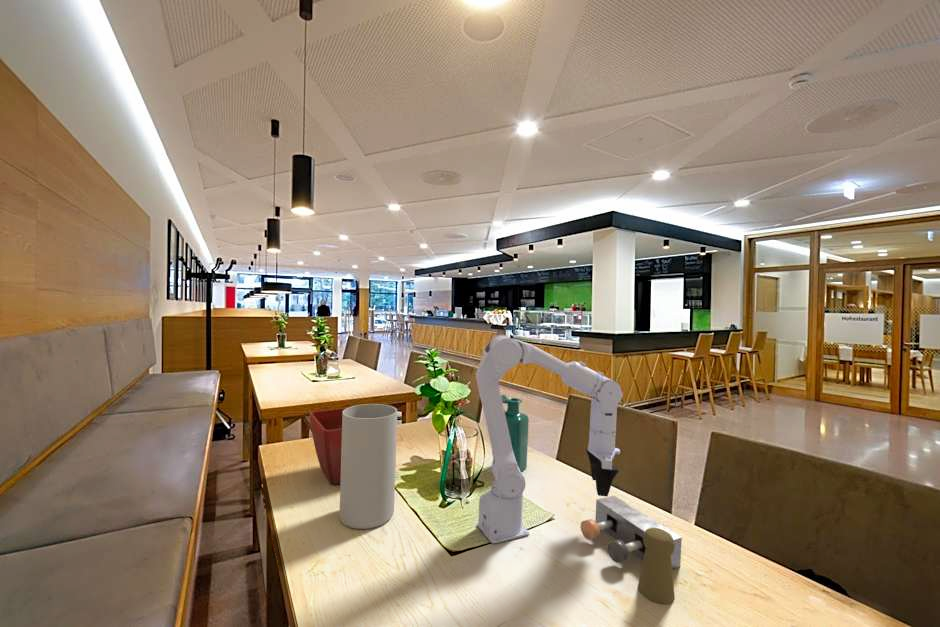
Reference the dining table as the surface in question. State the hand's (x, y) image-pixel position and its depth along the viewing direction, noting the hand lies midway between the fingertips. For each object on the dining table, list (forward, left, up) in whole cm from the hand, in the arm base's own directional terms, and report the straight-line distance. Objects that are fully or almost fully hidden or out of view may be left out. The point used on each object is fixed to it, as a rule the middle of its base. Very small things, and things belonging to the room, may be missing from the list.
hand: (599, 487), depth 90 cm
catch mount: (+3, -7, -10) cm, 13 cm away
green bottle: (-2, +37, -10) cm, 38 cm away
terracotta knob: (-3, -3, -8) cm, 10 cm away
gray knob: (-3, -11, -9) cm, 15 cm away
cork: (-4, -19, -10) cm, 22 cm away
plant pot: (-49, +50, -10) cm, 71 cm away
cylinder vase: (-48, +25, -10) cm, 55 cm away
